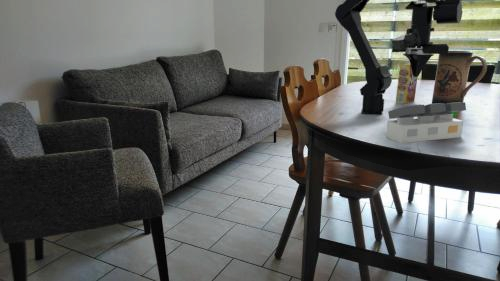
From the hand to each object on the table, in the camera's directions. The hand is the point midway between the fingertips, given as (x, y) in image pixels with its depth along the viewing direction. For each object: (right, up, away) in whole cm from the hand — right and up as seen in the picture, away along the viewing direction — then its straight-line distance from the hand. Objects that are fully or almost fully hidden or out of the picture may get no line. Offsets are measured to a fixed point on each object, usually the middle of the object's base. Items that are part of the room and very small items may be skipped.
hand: (415, 76), depth 115 cm
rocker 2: (-7, -12, -22) cm, 26 cm away
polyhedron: (+9, -14, -1) cm, 17 cm away
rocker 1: (-13, -13, -23) cm, 30 cm away
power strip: (-7, -19, -20) cm, 29 cm away
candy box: (+10, -5, +31) cm, 33 cm away
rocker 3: (-1, -12, -21) cm, 24 cm away
